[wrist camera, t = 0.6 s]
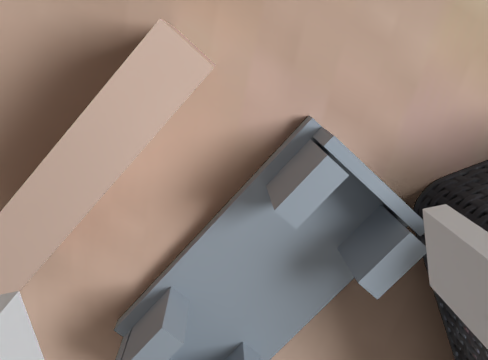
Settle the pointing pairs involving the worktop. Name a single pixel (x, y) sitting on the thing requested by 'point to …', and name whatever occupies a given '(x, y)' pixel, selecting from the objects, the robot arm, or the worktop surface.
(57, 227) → the tan rectangular block
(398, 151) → the worktop surface
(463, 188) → the storage bin
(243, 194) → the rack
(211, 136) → the worktop surface
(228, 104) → the worktop surface
